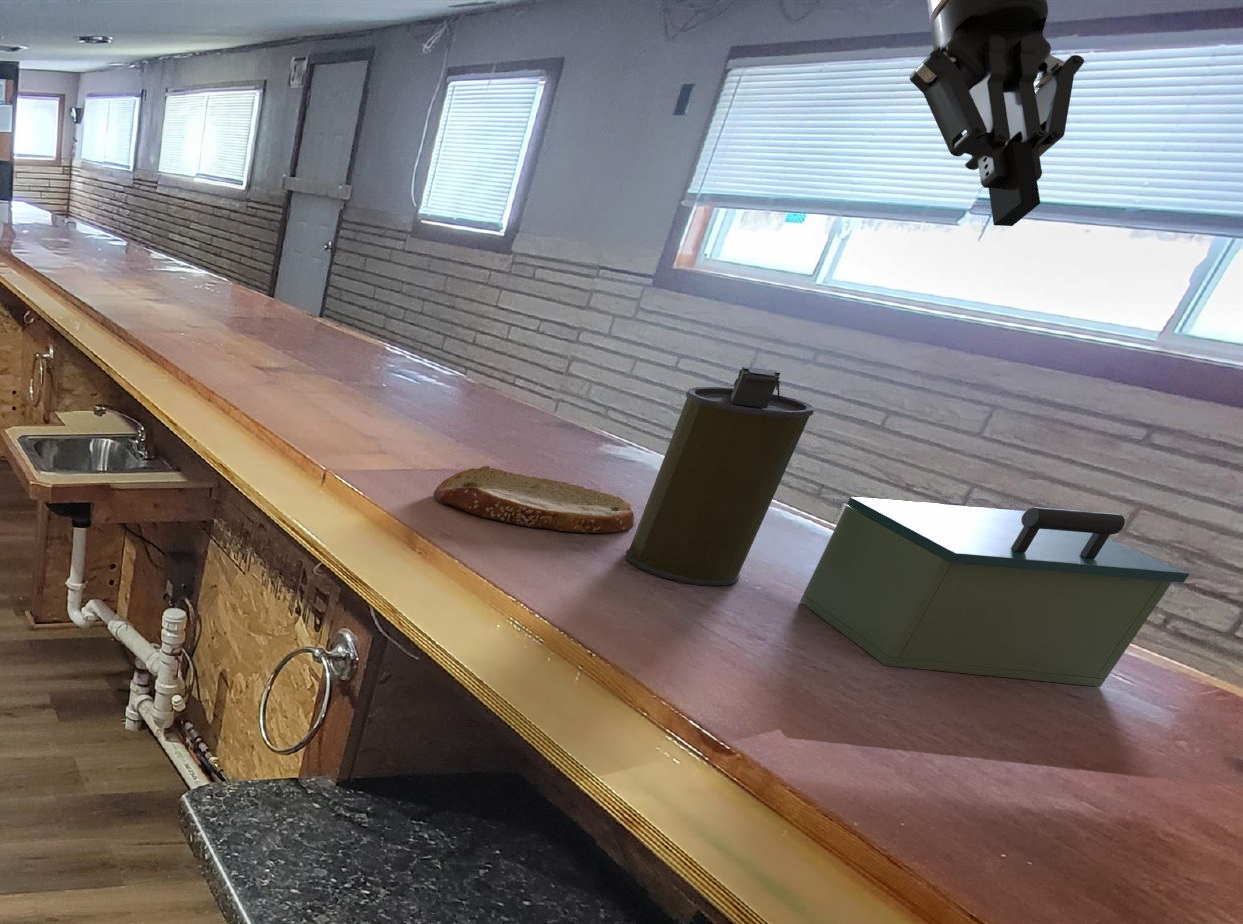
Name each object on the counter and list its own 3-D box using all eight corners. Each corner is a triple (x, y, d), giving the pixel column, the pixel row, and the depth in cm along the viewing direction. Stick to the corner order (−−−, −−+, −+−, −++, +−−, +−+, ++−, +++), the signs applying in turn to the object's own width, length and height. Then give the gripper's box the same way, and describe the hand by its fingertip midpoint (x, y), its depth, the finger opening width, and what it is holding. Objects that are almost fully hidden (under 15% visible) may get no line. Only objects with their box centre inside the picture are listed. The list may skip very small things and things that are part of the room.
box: (1100, 687, 81) (1175, 579, 76) (884, 665, 83) (943, 559, 78) (986, 619, 93) (1044, 521, 88) (799, 601, 95) (845, 505, 90)
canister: (740, 595, 96) (834, 388, 86) (622, 570, 100) (697, 371, 90) (736, 561, 104) (822, 369, 94) (627, 540, 108) (697, 354, 98)
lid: (1184, 583, 76) (1221, 529, 73) (949, 562, 78) (979, 509, 75) (1045, 521, 88) (1073, 473, 86) (846, 504, 90) (868, 458, 88)
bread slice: (649, 528, 112) (661, 497, 110) (534, 545, 106) (545, 512, 104) (525, 482, 126) (534, 453, 124) (417, 494, 120) (425, 464, 118)
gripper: (1025, 44, 94) (1058, 249, 88) (878, 40, 95) (901, 240, 89) (1102, -32, 87) (1144, 185, 80) (942, -35, 88) (971, 177, 82)
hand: (1016, 214), depth 85 cm, fingers closed
